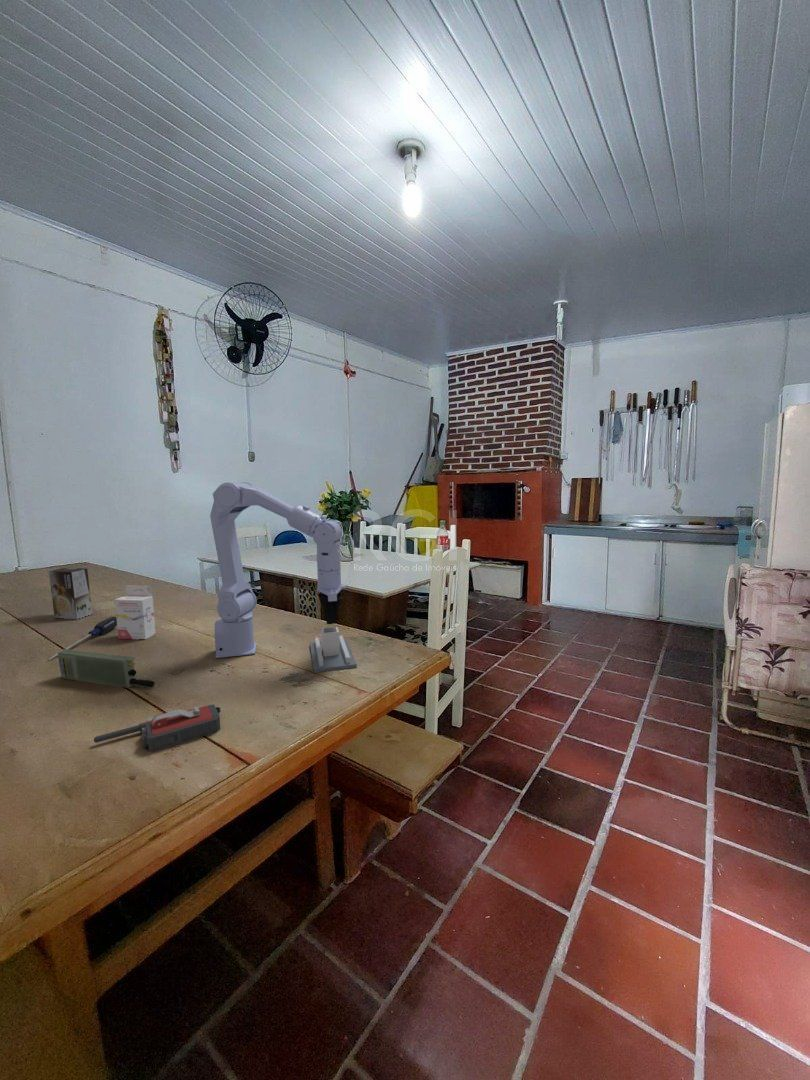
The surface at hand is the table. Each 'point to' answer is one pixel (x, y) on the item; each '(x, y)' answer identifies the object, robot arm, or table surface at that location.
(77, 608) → the coffee box
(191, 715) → the walkie-talkie
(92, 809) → the table surface
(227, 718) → the table surface
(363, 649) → the table surface
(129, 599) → the ink cartridge box
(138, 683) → the handheld radio
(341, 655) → the rail dock
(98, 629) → the screwdriver
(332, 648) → the block
